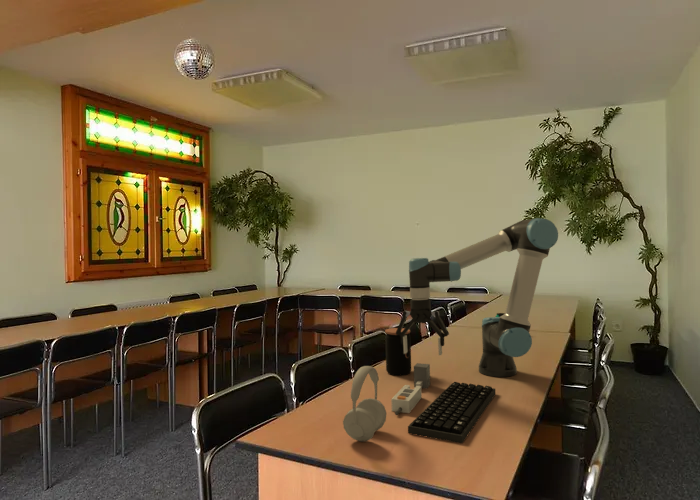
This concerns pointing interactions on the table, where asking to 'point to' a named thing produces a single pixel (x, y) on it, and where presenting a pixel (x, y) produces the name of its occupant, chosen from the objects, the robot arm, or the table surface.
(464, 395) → the computer keyboard
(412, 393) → the strip
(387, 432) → the table surface
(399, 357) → the coffee jar
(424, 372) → the charger
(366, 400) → the headphones
